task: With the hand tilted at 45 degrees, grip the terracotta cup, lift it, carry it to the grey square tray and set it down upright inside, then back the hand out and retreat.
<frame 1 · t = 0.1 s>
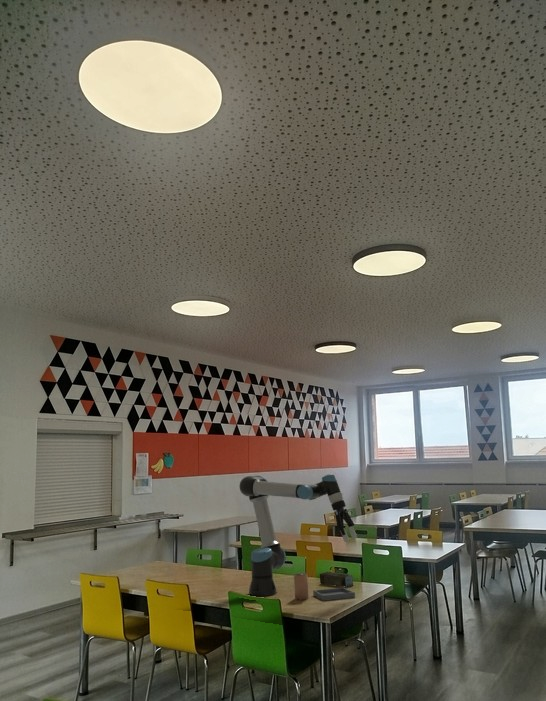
hand: (351, 539, 305), 28 cm above the table, tool tilted 20°, fingers open, 13 cm apart
terracotta cup: (301, 598, 293), on the table
grey square tray: (333, 596, 295), on the table
beverage carton: (336, 585, 326), on the table
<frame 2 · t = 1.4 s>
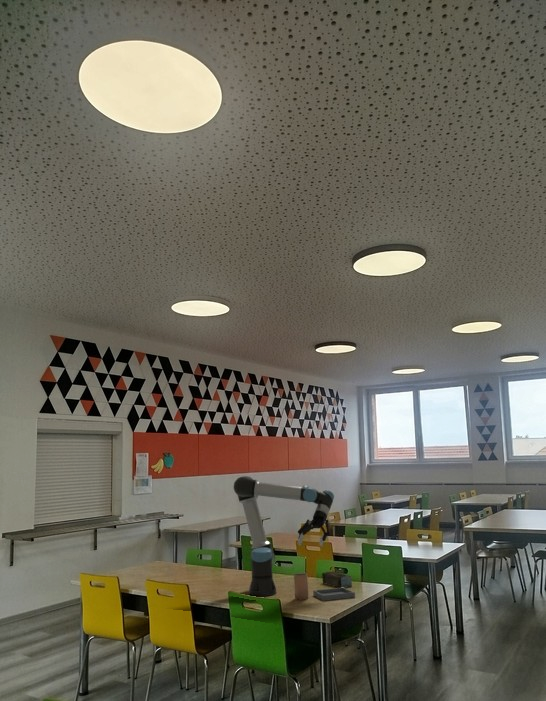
hand: (309, 544, 307), 26 cm above the table, tool tilted 45°, fingers open, 13 cm apart
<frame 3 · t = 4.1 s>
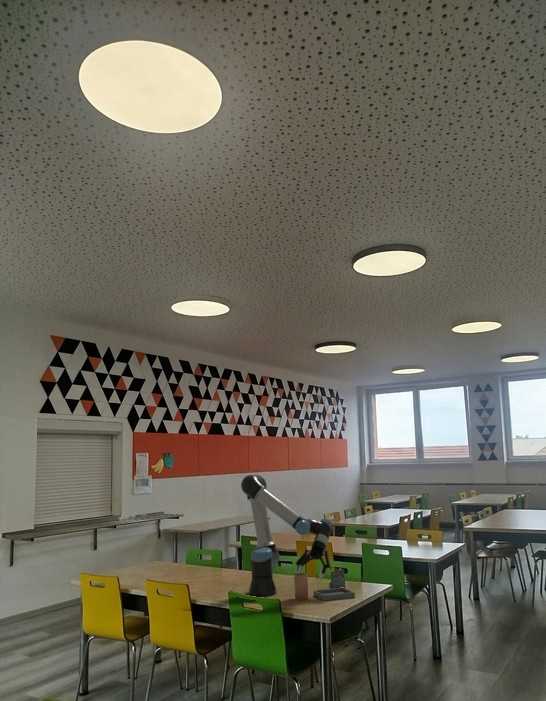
hand: (308, 577, 298), 10 cm above the table, tool tilted 45°, fingers open, 13 cm apart
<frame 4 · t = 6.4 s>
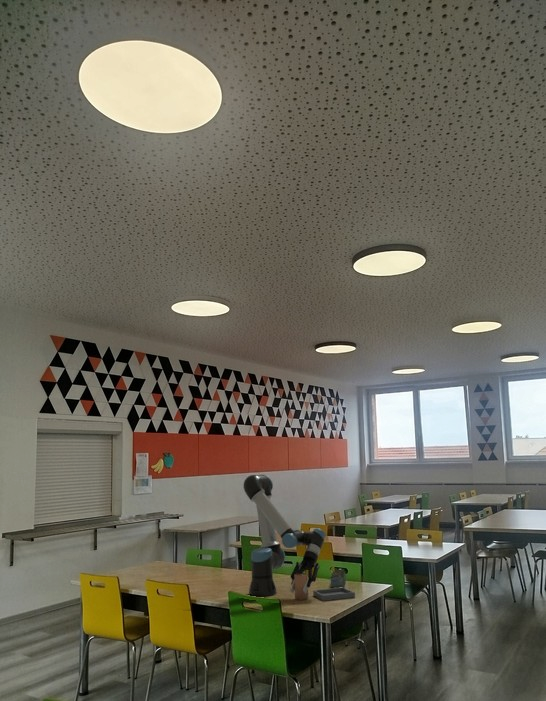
hand: (298, 591, 291), 4 cm above the table, tool tilted 45°, fingers closed on terracotta cup, 7 cm apart
terracotta cup: (301, 598, 293), on the table, touching gripper
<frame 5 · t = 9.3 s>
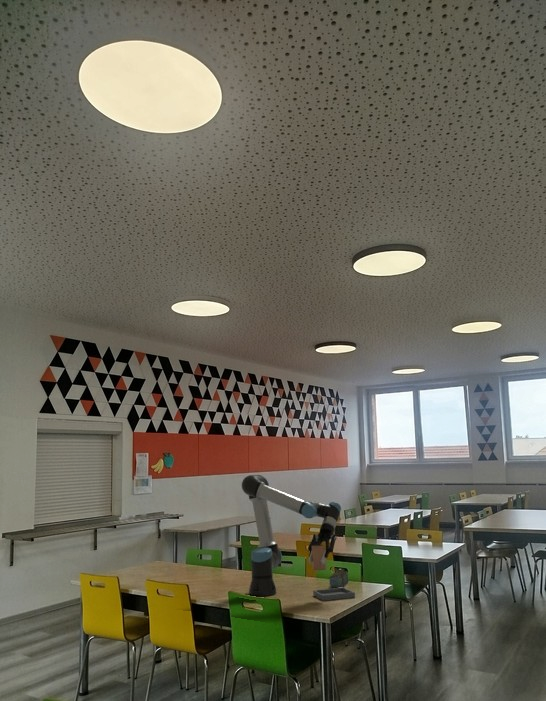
hand: (316, 562, 294), 18 cm above the table, tool tilted 45°, fingers closed on terracotta cup, 7 cm apart
terracotta cup: (319, 569, 296), point 14 cm above the table, touching gripper
when the fingers open (6 cm above the table, at t = 12.2 s): terracotta cup drops 1 cm, resting on grey square tray.
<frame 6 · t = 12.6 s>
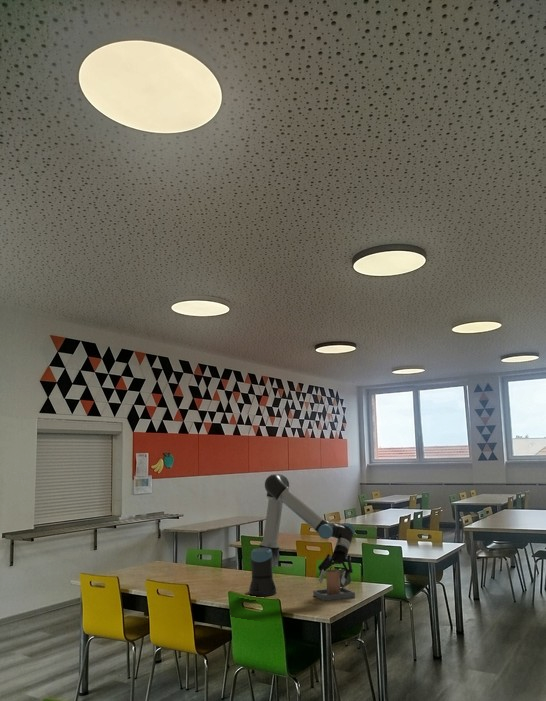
hand: (331, 582, 295), 7 cm above the table, tool tilted 45°, fingers open, 12 cm apart
terracotta cup: (333, 594, 295), point 1 cm above the table, touching grey square tray
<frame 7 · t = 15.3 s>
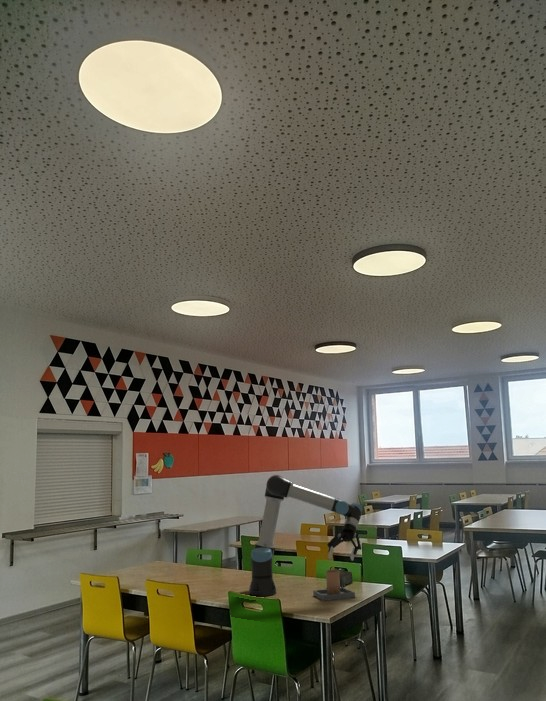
hand: (340, 558, 308), 18 cm above the table, tool tilted 45°, fingers open, 13 cm apart
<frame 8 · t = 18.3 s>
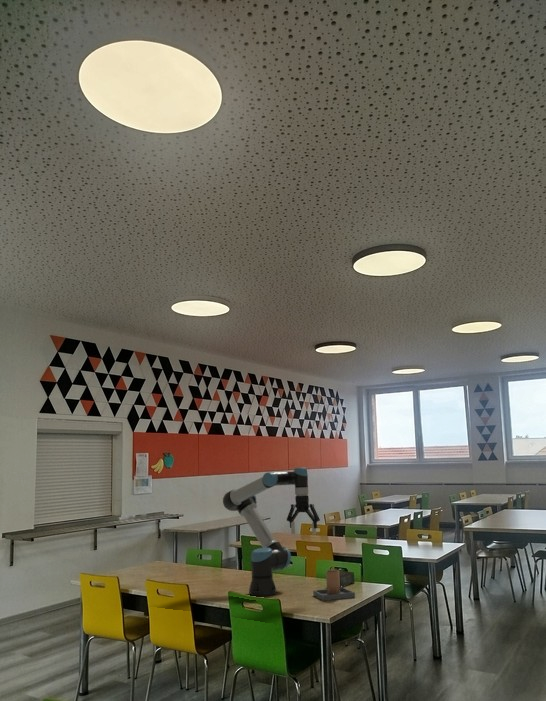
hand: (303, 534, 313), 31 cm above the table, tool pointing down, fingers open, 13 cm apart
at the end: terracotta cup inside the target area on the grey square tray (0.0 cm from its centre), point 0.8 cm above the grey square tray's base; terracotta cup tilted 0°; the gripper is holding nothing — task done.
